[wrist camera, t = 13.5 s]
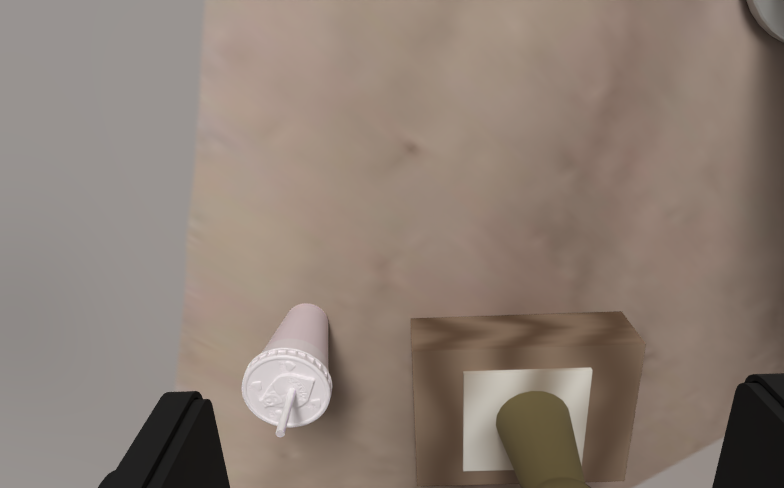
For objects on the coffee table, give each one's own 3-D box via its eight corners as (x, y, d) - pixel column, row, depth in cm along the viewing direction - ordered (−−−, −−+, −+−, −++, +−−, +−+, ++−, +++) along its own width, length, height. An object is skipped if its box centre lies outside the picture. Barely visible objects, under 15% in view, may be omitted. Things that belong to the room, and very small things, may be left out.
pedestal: (621, 311, 47) (648, 347, 42) (604, 439, 52) (626, 484, 47) (410, 318, 47) (412, 354, 42) (415, 444, 53) (417, 489, 48)
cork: (571, 445, 45) (620, 569, 35) (498, 453, 46) (526, 577, 36) (569, 386, 43) (621, 500, 33) (492, 395, 44) (521, 510, 33)
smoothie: (357, 335, 48) (341, 453, 35) (295, 363, 49) (258, 488, 36) (319, 277, 46) (288, 380, 33) (255, 308, 47) (201, 419, 34)
